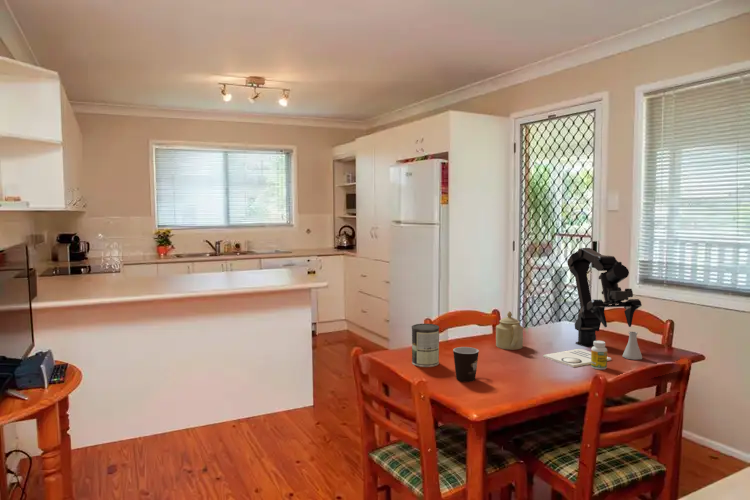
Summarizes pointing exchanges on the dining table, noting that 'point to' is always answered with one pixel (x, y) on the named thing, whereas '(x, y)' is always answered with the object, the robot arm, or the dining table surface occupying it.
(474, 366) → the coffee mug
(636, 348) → the flask
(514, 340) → the sugar bowl
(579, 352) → the notepad
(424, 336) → the coffee can
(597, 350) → the supplement bottle
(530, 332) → the dining table surface
